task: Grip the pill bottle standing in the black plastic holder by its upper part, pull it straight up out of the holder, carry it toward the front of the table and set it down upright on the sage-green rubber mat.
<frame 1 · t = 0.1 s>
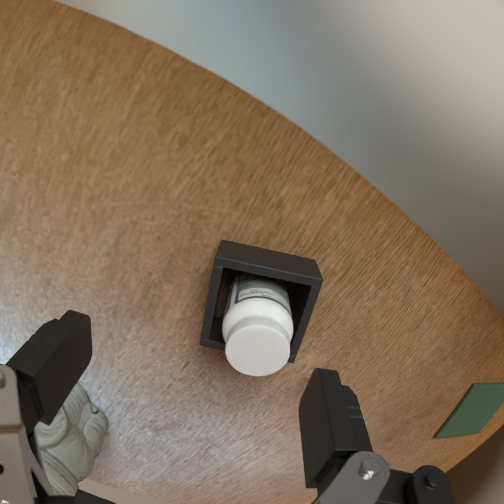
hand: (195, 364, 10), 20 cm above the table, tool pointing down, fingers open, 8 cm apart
holder: (258, 291, 32), on the table
pill bottle: (258, 291, 32), resting in holder
mat: (476, 410, 39), on the table
elephant cookie jar: (67, 389, 39), on the table
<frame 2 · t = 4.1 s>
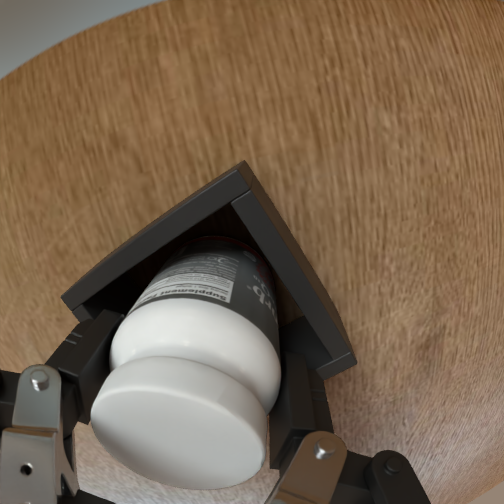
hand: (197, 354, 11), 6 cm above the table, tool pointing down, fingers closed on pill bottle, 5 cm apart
holder: (218, 286, 16), on the table
pill bottle: (218, 284, 16), resting in holder, touching gripper
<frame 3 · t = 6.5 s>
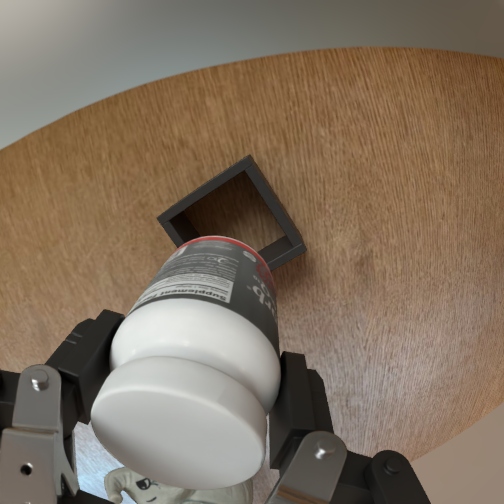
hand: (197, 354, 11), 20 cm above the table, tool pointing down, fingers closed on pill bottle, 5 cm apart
holder: (235, 220, 30), on the table
pill bottle: (218, 284, 16), point 15 cm above the table, touching gripper
elephant cookie jar: (194, 438, 41), on the table
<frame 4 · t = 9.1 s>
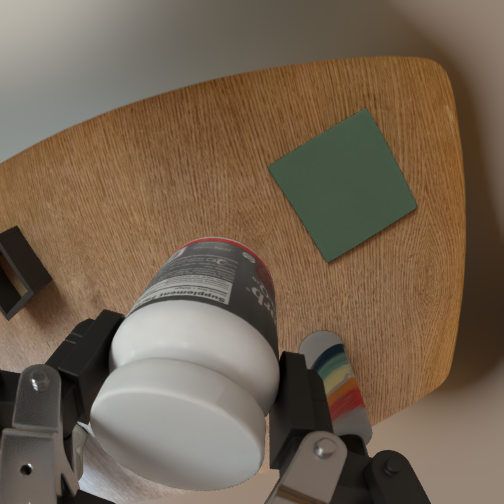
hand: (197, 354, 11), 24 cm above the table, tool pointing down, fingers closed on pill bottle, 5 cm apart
holder: (19, 268, 36), on the table
pill bottle: (217, 285, 16), point 18 cm above the table, touching gripper
lotion bottle: (320, 347, 39), on the table
mat: (347, 186, 32), on the table
elephant cookie jar: (53, 418, 48), on the table
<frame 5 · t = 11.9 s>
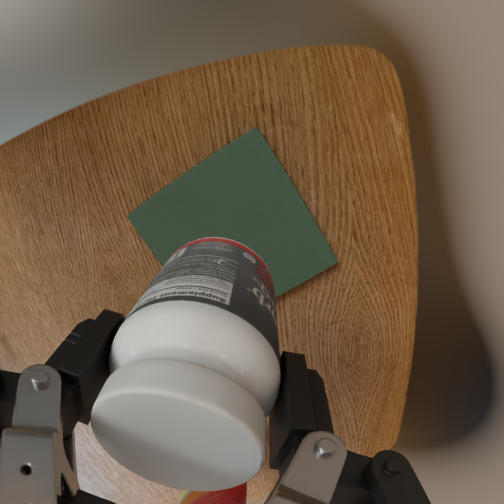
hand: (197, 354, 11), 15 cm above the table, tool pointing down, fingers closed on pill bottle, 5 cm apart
pill bottle: (218, 286, 16), point 9 cm above the table, touching gripper
lotion bottle: (223, 413, 32), on the table
mat: (232, 236, 25), on the table
when the fingers open (6 cm above the table, at t = 14.4 s): pill bottle stays where it is, resting on mat.
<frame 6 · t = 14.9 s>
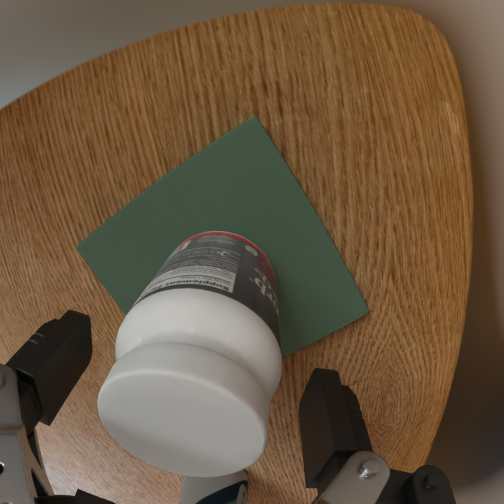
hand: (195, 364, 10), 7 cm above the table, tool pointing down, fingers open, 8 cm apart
pill bottle: (220, 279, 17), resting on mat
lotion bottle: (217, 472, 24), on the table
mat: (220, 277, 17), on the table
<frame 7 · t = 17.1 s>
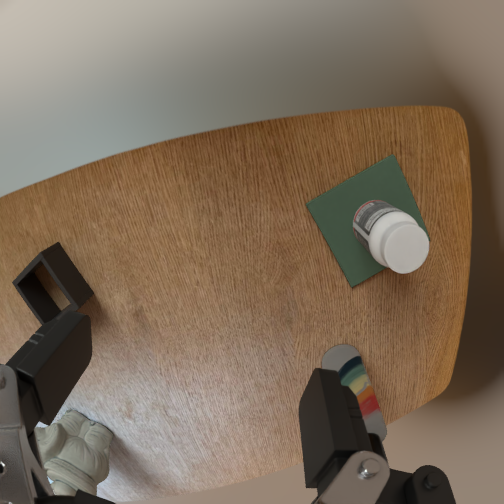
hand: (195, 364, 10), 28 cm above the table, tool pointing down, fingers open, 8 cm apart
holder: (59, 281, 41), on the table
pill bottle: (373, 222, 36), resting on mat
lotion bottle: (340, 358, 43), on the table
mat: (372, 222, 36), on the table
elephant cookie jar: (78, 420, 52), on the table
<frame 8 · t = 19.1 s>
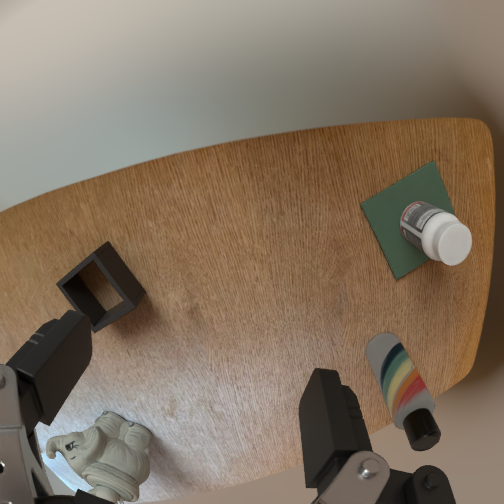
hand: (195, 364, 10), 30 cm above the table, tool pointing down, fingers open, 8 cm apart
holder: (106, 281, 43), on the table
pill bottle: (416, 221, 38), resting on mat
lotion bottle: (381, 345, 46), on the table
mat: (415, 220, 39), on the table
elephant cookie jar: (114, 422, 55), on the table
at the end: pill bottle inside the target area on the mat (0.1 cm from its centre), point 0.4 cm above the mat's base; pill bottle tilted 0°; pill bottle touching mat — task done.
